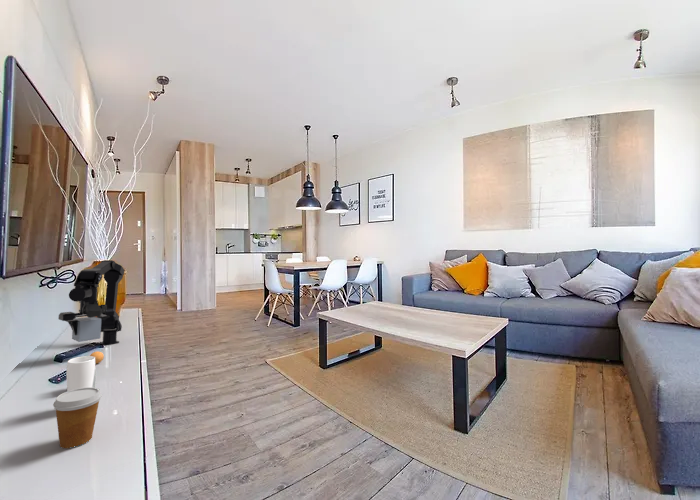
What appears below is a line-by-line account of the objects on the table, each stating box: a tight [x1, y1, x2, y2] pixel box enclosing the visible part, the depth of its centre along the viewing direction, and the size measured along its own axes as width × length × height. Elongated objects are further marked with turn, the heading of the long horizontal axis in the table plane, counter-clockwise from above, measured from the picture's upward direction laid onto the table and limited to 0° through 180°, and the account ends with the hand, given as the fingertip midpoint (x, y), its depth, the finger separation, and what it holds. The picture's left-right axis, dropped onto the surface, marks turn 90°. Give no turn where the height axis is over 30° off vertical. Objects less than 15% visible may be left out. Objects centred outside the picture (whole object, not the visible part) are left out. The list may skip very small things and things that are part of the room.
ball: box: [89, 351, 105, 365], centre depth 136 cm, size 5×5×5 cm
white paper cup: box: [66, 355, 96, 392], centre depth 98 cm, size 7×7×15 cm
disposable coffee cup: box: [52, 387, 103, 449], centre depth 82 cm, size 10×10×12 cm
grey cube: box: [71, 316, 102, 343], centre depth 142 cm, size 8×8×9 cm
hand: (86, 333), depth 142 cm, fingers closed on grey cube, 8 cm apart
